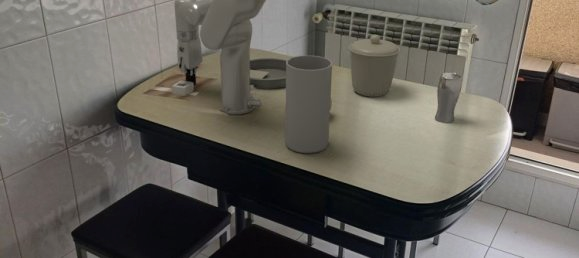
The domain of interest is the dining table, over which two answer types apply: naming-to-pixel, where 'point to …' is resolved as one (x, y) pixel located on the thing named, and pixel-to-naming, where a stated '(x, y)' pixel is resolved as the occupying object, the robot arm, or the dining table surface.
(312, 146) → the cylinder vase
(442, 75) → the beer glass
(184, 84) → the block
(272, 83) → the cake pan
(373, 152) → the dining table surface
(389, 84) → the canister
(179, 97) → the brown flat board
